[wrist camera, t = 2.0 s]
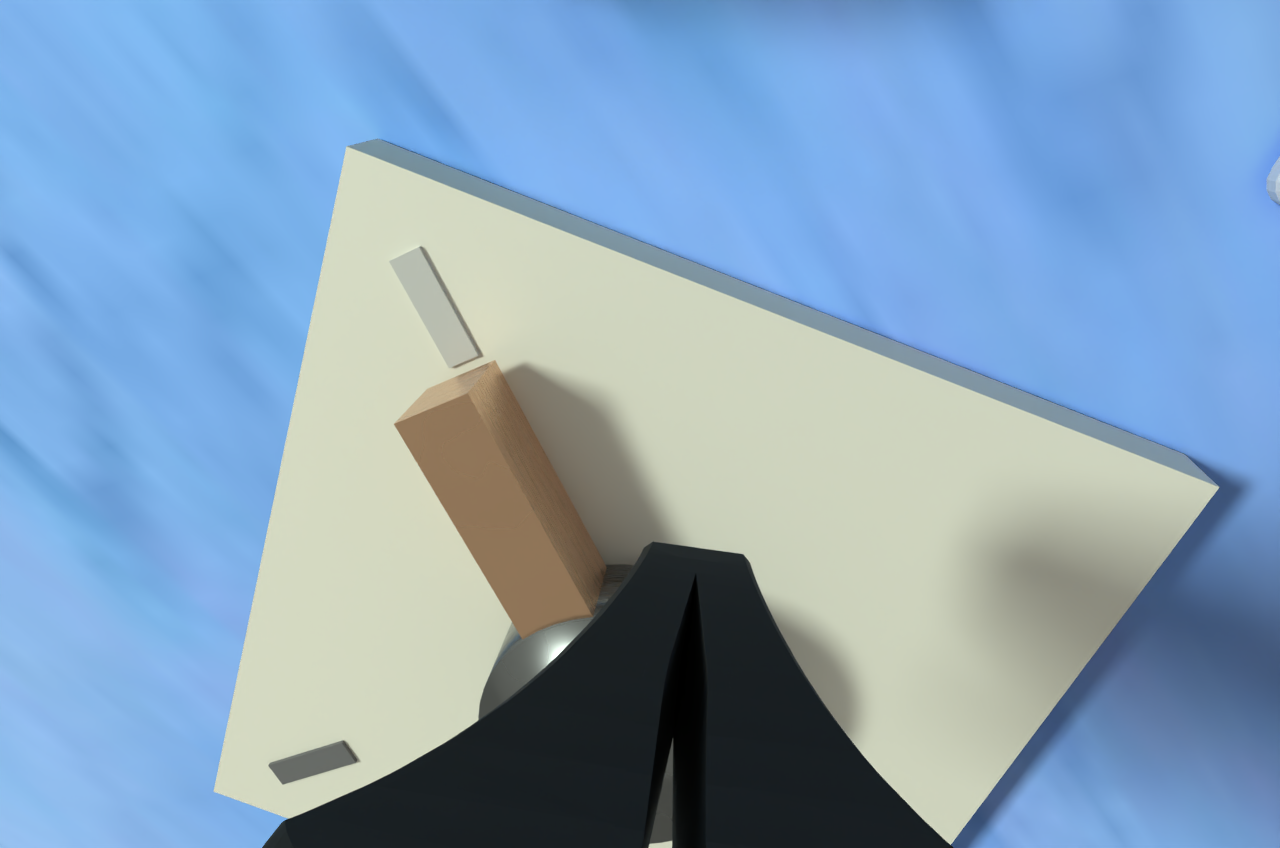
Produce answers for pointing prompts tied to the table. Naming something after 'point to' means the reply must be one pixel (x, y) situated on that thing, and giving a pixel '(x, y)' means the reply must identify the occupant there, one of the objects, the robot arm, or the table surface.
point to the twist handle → (514, 529)
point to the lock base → (673, 496)
